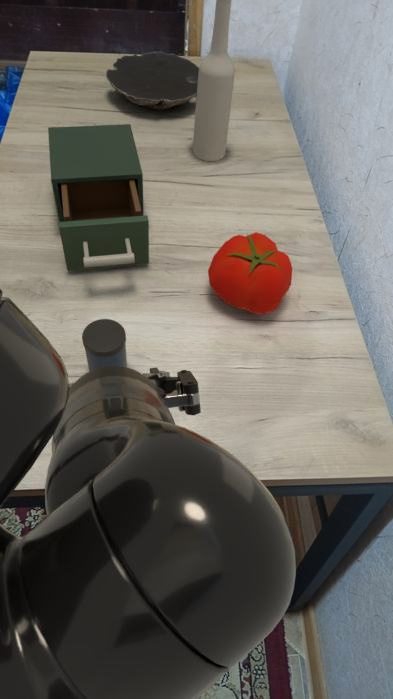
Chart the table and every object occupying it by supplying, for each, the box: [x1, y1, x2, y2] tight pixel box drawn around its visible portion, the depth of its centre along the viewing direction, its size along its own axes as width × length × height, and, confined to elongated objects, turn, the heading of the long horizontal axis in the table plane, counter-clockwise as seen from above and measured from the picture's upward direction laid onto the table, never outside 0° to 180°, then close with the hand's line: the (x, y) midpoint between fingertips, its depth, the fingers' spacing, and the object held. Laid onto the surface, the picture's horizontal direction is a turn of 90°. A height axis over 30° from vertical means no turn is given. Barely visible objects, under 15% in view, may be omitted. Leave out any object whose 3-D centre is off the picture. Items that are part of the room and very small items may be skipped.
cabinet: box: [47, 123, 144, 223], centre depth 82 cm, size 15×14×10 cm
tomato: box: [207, 231, 293, 315], centre depth 72 cm, size 13×12×8 cm
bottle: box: [192, 0, 236, 162], centre depth 87 cm, size 7×7×28 cm
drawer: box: [58, 179, 150, 272], centre depth 74 cm, size 18×12×8 cm
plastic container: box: [81, 318, 128, 372], centre depth 61 cm, size 5×5×9 cm
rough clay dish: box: [105, 51, 199, 112], centre depth 108 cm, size 22×22×5 cm
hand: (109, 383), depth 47 cm, fingers open, 8 cm apart
